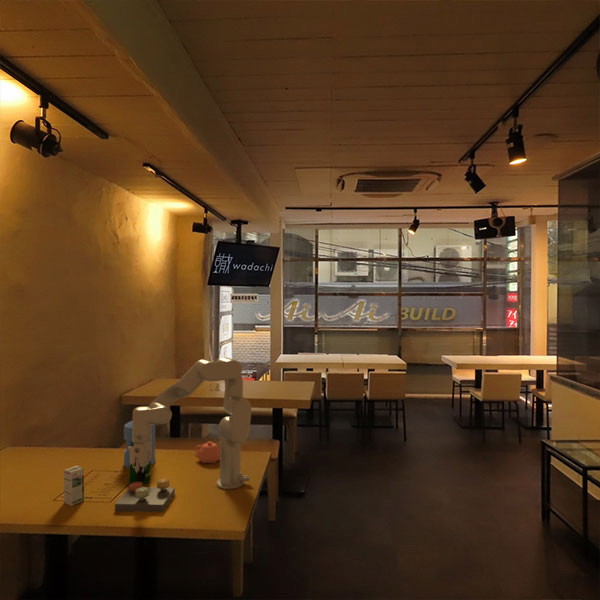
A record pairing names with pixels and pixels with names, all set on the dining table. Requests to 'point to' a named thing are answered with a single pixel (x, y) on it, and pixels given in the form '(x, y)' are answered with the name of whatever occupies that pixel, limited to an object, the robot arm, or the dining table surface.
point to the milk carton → (134, 473)
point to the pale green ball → (142, 493)
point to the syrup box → (73, 485)
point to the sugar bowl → (208, 452)
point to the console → (146, 500)
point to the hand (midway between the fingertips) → (141, 480)
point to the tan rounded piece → (163, 484)
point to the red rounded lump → (135, 486)
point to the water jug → (128, 438)
